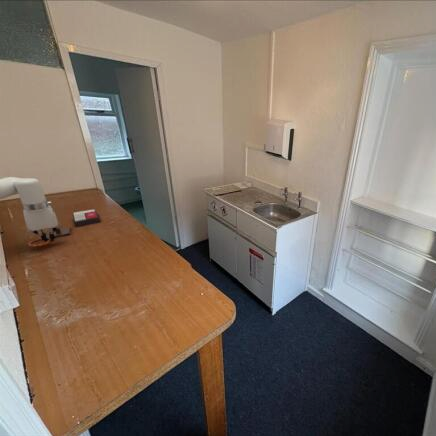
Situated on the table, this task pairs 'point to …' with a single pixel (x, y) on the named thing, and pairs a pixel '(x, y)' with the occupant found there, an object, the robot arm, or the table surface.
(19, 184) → the robot arm
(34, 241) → the orange ring
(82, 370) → the table surface
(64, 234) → the post
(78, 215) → the calculator
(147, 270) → the table surface
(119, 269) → the table surface
